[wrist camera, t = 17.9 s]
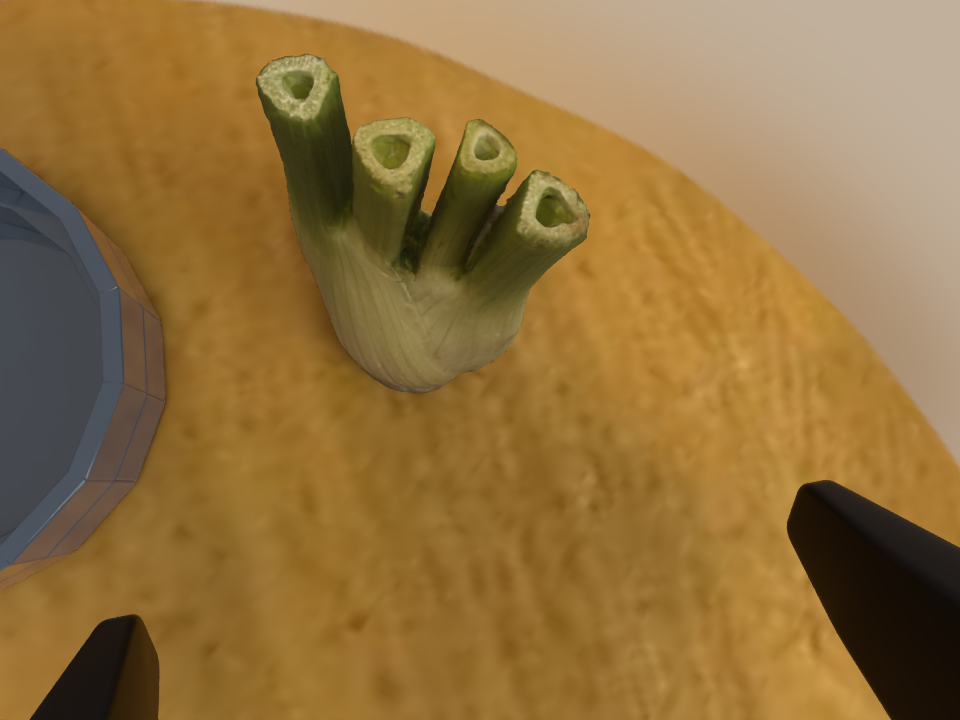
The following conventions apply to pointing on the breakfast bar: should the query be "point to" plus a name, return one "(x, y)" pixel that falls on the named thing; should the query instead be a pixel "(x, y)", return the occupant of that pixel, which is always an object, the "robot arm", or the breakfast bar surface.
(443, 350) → the fennel bulb
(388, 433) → the breakfast bar surface
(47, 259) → the bowl
